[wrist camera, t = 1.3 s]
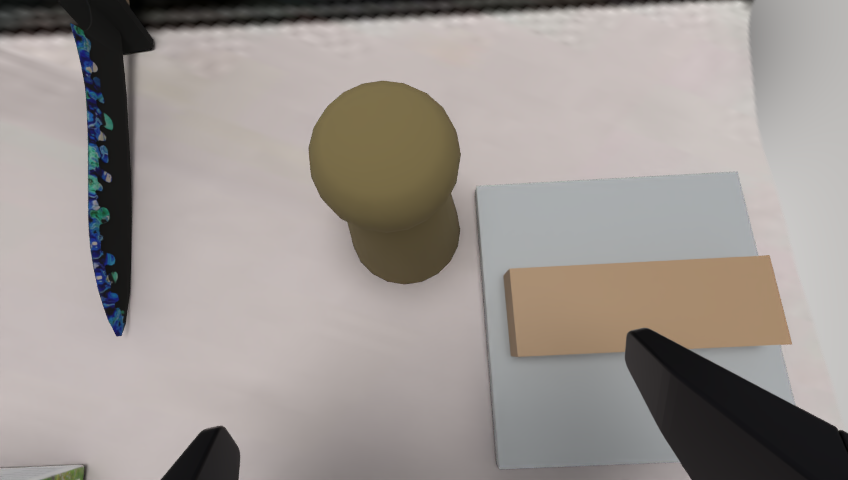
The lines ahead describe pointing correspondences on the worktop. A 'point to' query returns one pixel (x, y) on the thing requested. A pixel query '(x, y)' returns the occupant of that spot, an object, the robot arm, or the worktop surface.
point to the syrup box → (43, 473)
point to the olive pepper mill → (390, 177)
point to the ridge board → (601, 236)
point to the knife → (108, 141)
